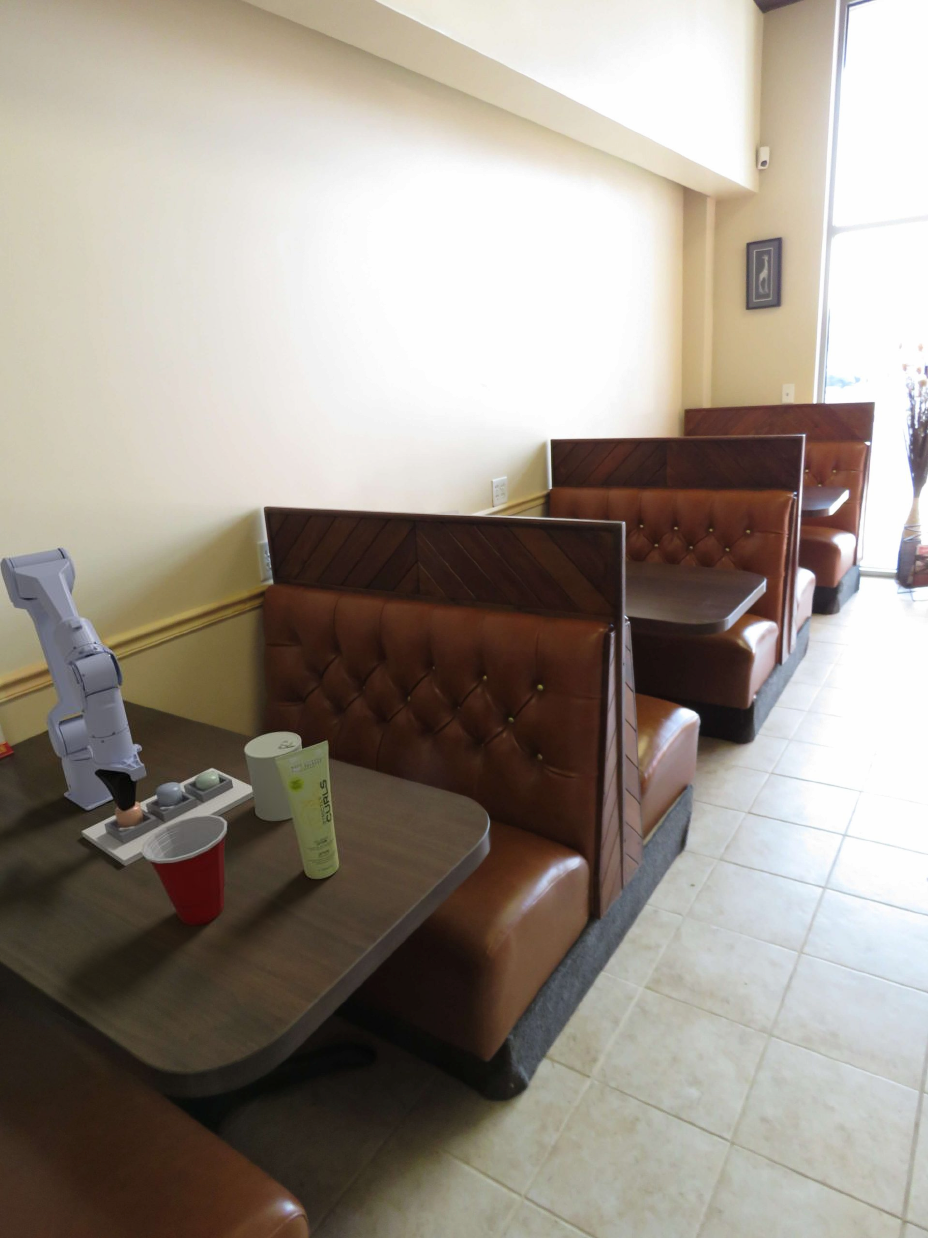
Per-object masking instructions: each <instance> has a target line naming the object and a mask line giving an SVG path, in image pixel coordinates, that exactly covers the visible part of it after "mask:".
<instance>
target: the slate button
mask: <svg viewBox="0 0 928 1238" xmlns="http://www.w3.org/2000/svg"><path fill="white" fill-rule="evenodd" d="M155 795H157V799H158V803H159V806H161V807H171V806H174V805H176V804H178V803H180V802H181V801H182V799H183V797H182V792H181V788H180V783H179V782H176V781H175V782H173V781H172V782H171V781H170V782H167V783H163V784H162V785H159V786H158V787H157V788H156V789H155Z"/></svg>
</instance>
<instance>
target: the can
mask: <svg viewBox="0 0 928 1238" xmlns="http://www.w3.org/2000/svg"><path fill="white" fill-rule="evenodd" d="M301 749H303V746H302V738H301V736H300V735H298V734H297V733H295V732H290V731H276V732H270V733H269V732H268V733H265V734H262V735H260V736H257V737H256V738H254V739H251V740H250V741H249V742H248V743H246V744H245V746H244V750H243V751H244V755H245V759H246V764H247V769H248V773H249V779H250V783H251V784H250V786H252V791H253V796H254V797H253V802H254V812H255V815H256V816H257V817H258V818H259V819H261V820H264V821H266V822H267V821H268V822H280V821H286V820H289V819H293V818H292V814H291V810H290V807H289V803H288V799H287V795H286V792H285V788H284V785H283V782H282V779H281V776H280V772H279V770H278V767H277V765H276V762H275V758H277V757H280V756H283V755H286V754H289V753H292V752H295V751H298V750H301Z"/></svg>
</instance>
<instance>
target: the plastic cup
mask: <svg viewBox="0 0 928 1238" xmlns="http://www.w3.org/2000/svg"><path fill="white" fill-rule="evenodd" d="M227 827H228V822H227V820H225V818H223V817H222V816H213V815H203V816H194V817H190V818H186V819H182V820H179V821H177V822H174V823H172V824H170V825H167V826H165V827H163V828H162V829H160V830H158V831H157V832H155V833H154V834H152V835H151V836H150V837H149V838H148V839H147V840H146V841H145V843H144V844H143V846H142V851H141V853H142V854H143V855H144V856H143V857H144V858H145V859H146V860H147V861H148V862H150V864H151V865H152V867H153V869H154V870H155V872H156V873H157V876H158V878H159V880H160V882H161V884H162V886H163V888H164V890H165V892H166V895H167V897H168V898H169V901H170V903H172V906H173V907H174V909H175V912H176V914H177V916H178V917H179V919H180V920H181V921H182V923H183V924H186V925H188V926H198V925H204V924H207V923H208V922H210V921H213V920H215V919H216V918H217V917H218V916H219V915H220V914H221V913H222V912H223V909H224V907H225V885H226V884H225V880H226V877H225V840H226V834H227V831H228V828H227Z"/></svg>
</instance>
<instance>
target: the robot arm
mask: <svg viewBox="0 0 928 1238" xmlns="http://www.w3.org/2000/svg"><path fill="white" fill-rule="evenodd" d="M0 572H1V575H2V579H3V582H4V585H5V588H6V591H7V594H8V597H9V600H10V602H11V603H12V605H13V608H15V609H19V610H20V609H21V610H25V611H26V612H27V614H28V615H29V616H30V619H31V620H32V622H33V625H34V628H35V631H36V634H37V638H38V641H39V644H40V647H41V649H42V650H41V651H42V653H43V656H44V658H45V663H46V666H47V669H48V671H49V674H50V677H51V681H52V683H53V686H54V689H55V693H56V696H57V699H58V701H57V702H56V704H55V705H54V706H53V707H52V708H51V709H50V711H49V712H48V713H47V716H46V719H45V721H46V722H45V723H46V726H47V728H48V729H47V730H48V736H49V740H50V743H51V745H52V749H53V750H54V752H55V754H56V756H57V757H59V758H61V766H62V770H63V772H64V777H65V781H66V784H67V788H68V791H66V792H64V794H63V796H64V797H66V798H67V799H68V800H70V801H71V802H73V803H75V804H76V805H78V806H79V807H80V808H82V809H84V810H86V811H91V810H93V809H96V808H98V807H99V806H102V805H104V804H106V803H107V802H109V801H112V800H113V801H114V803H115V804H116V807H118V808H119V809H120V810H122V811H125V810H127V809H129V808H131V807H133V806H135V802H137V801H136V800H137V799H136V797H137V783H138V781H139V780H140V779H143V778H145V777H147V771H146V768H145V764H144V763H142V762H141V760H140V757H139V754H138V753H139V752H141V751H142V750H143V748H142V745H140V744H138V743H134V744H133V739H132V736H131V730H130V727H129V723H128V718H127V715H126V713H127V712H126V711H125V710H126V709H125V706H124V705H125V704H124V702H123V698H122V693H121V692H122V691H121V688H120V687H122V686H123V682H124V681H123V674H122V673H123V672H122V669H121V666H120V663H119V661H118V658H117V656H116V655H115V653H114V651H112V649H109V647H108V646H107V645H104V644H103V643H102V641H101V639H100V637H99V635H98V633H97V631H96V630H95V627H94V626H93V624H92V622H91V621H90V620H89V619H88V618H86V617H83V616H79V613H78V610H77V607H76V605H75V602H74V601H75V600H74V599H73V597H72V594H73V590H74V586H75V585H74V584H75V580H76V570H75V566H74V563H73V560H72V556H71V555H70V553H69V551H68V550H66V549H65V548H64V547H58V548H57V549H51V550H46V551H45V550H44V551H39V552H34V553H29V554H24V555H17V556H13V557H3V558H2V560H1V561H0ZM79 713H81V714H79ZM76 714H77V715H76ZM78 714H79V715H78ZM73 715H75V716H73ZM69 716H70V717H69ZM71 716H72V717H71ZM67 717H68V718H67ZM64 718H66V719H64Z"/></svg>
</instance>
